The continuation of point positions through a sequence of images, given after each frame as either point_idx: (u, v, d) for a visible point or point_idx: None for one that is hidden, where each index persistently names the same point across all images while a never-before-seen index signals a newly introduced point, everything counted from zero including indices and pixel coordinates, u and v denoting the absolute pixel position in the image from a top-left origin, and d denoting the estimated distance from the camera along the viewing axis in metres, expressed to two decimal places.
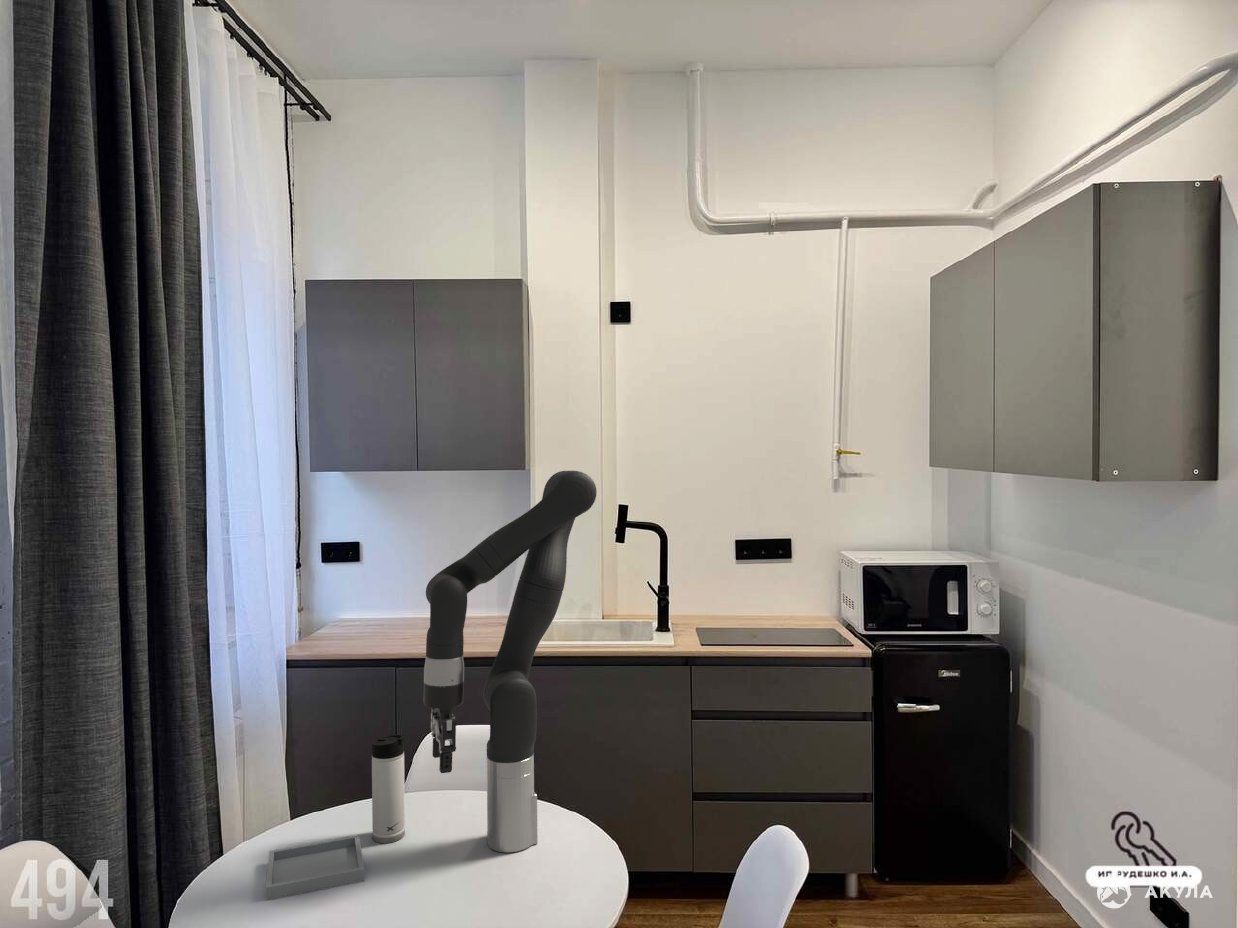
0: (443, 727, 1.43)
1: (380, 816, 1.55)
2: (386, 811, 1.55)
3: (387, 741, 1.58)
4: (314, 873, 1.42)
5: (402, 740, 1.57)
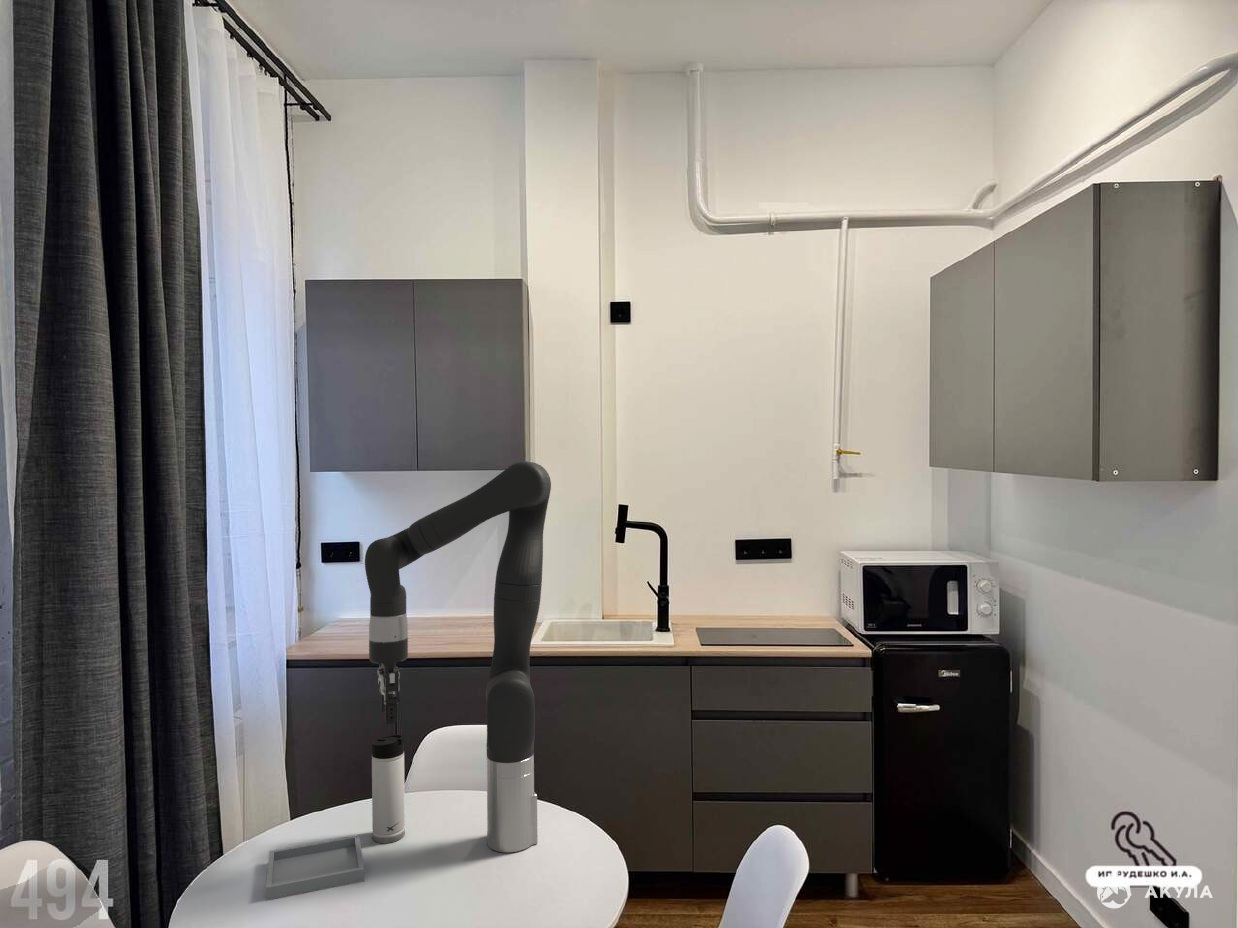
0: (386, 680, 1.51)
1: (380, 816, 1.55)
2: (386, 811, 1.55)
3: (387, 741, 1.58)
4: (314, 873, 1.42)
5: (402, 740, 1.57)
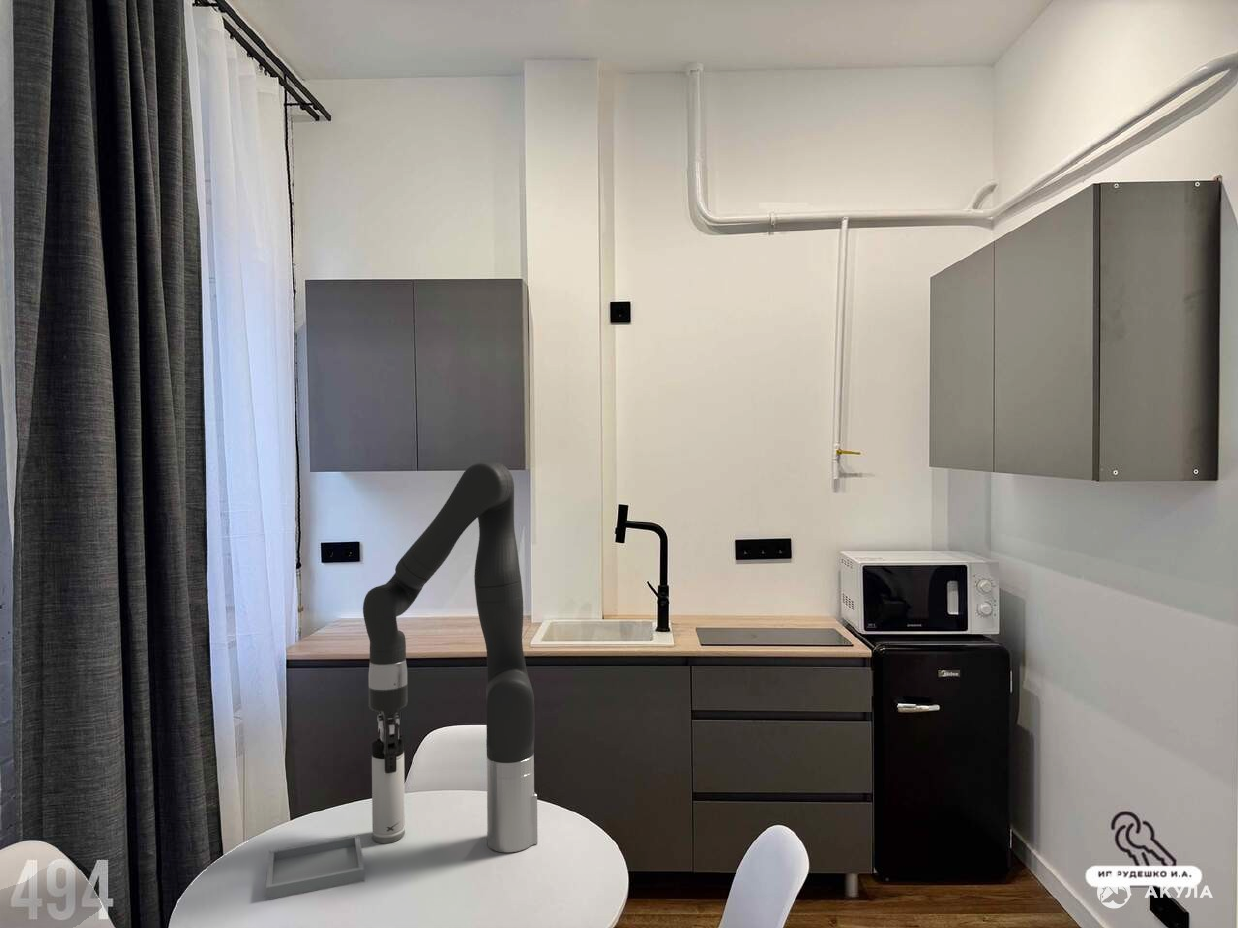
0: (386, 732, 1.51)
1: (380, 816, 1.55)
2: (386, 811, 1.54)
3: None
4: (314, 873, 1.42)
5: (402, 740, 1.57)
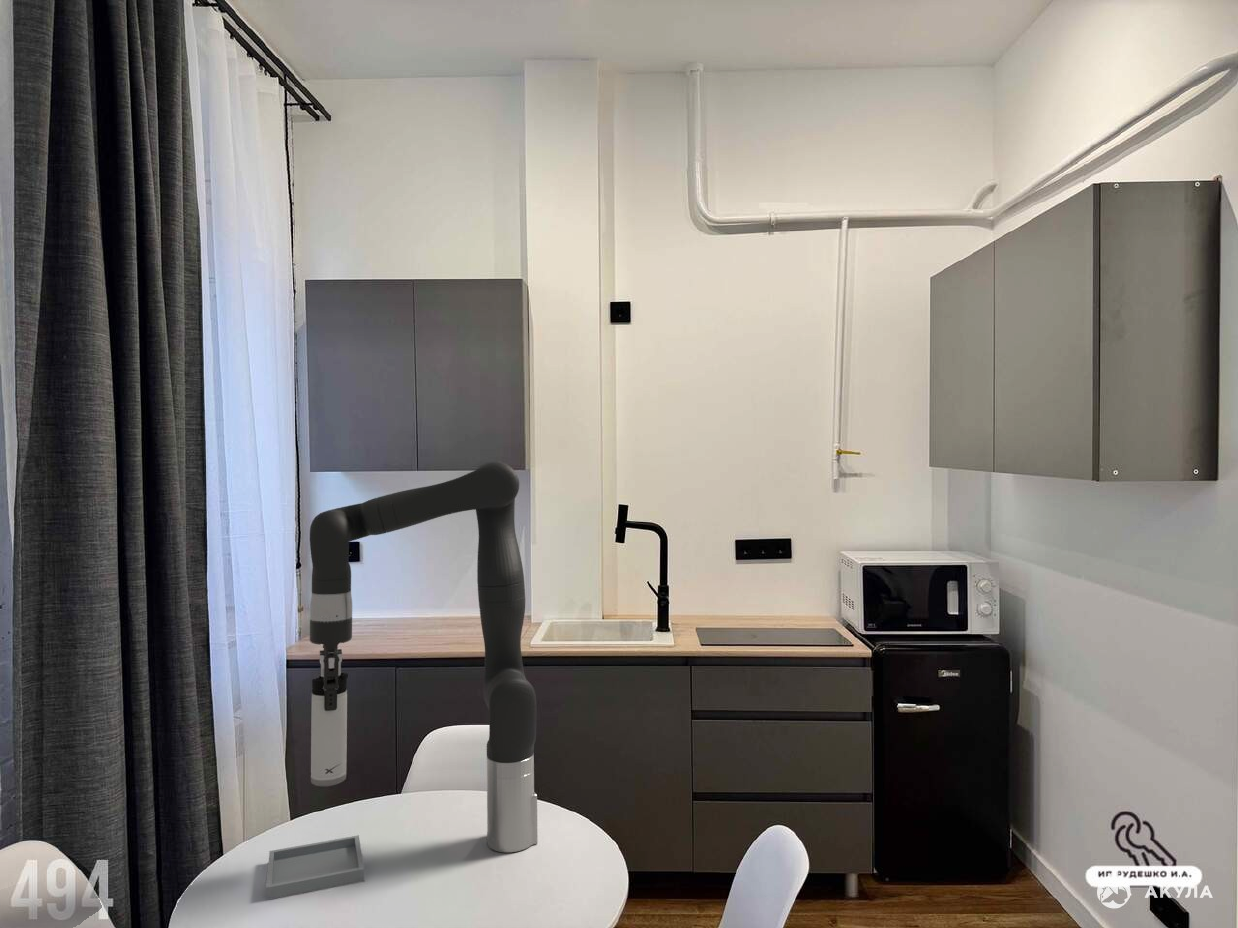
0: (325, 665, 1.41)
1: (318, 757, 1.44)
2: (325, 752, 1.44)
3: (329, 678, 1.47)
4: (314, 873, 1.42)
5: (344, 677, 1.46)
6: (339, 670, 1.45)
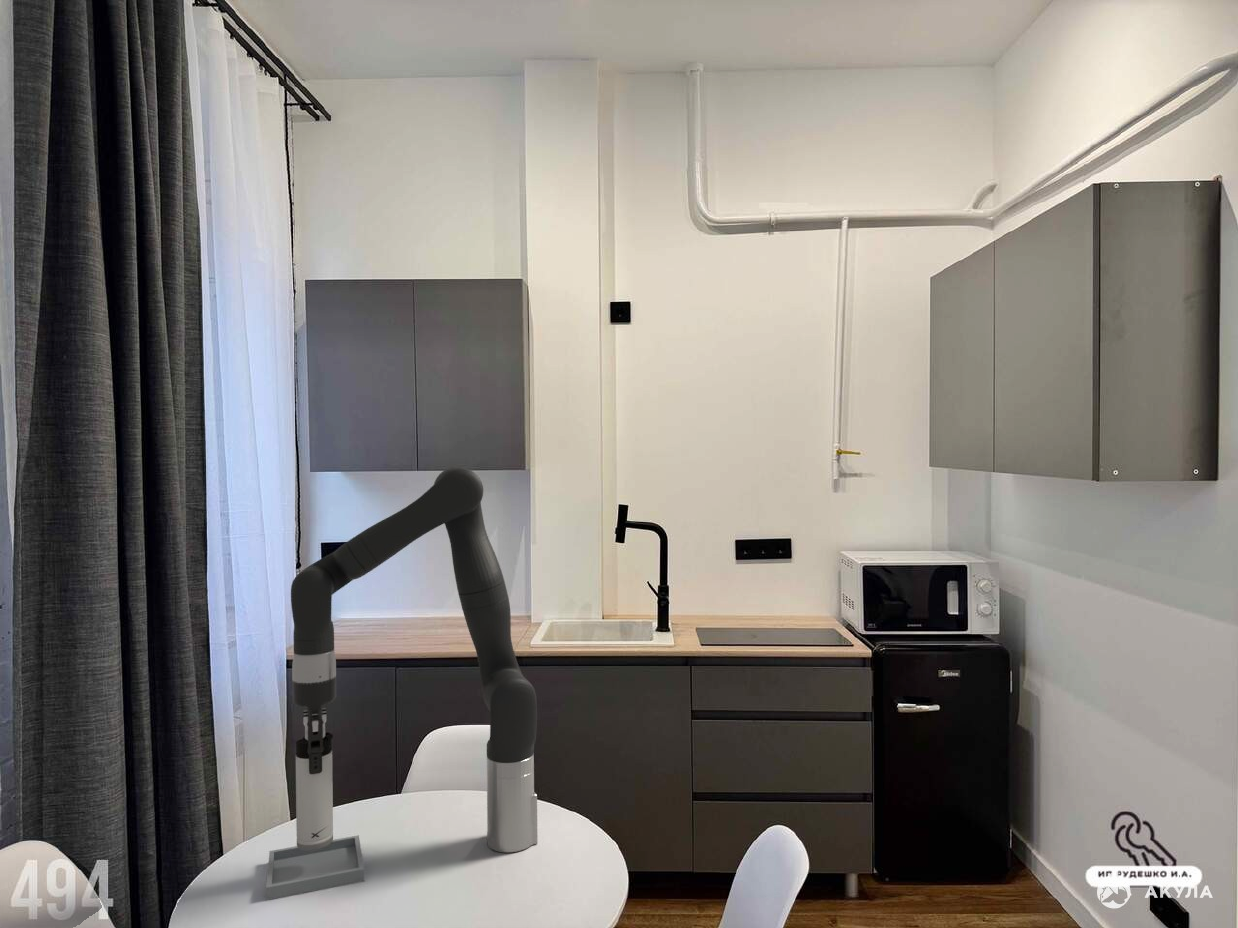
0: (309, 729, 1.38)
1: (304, 821, 1.41)
2: (310, 816, 1.41)
3: None
4: (314, 873, 1.42)
5: (329, 738, 1.43)
6: (323, 732, 1.42)
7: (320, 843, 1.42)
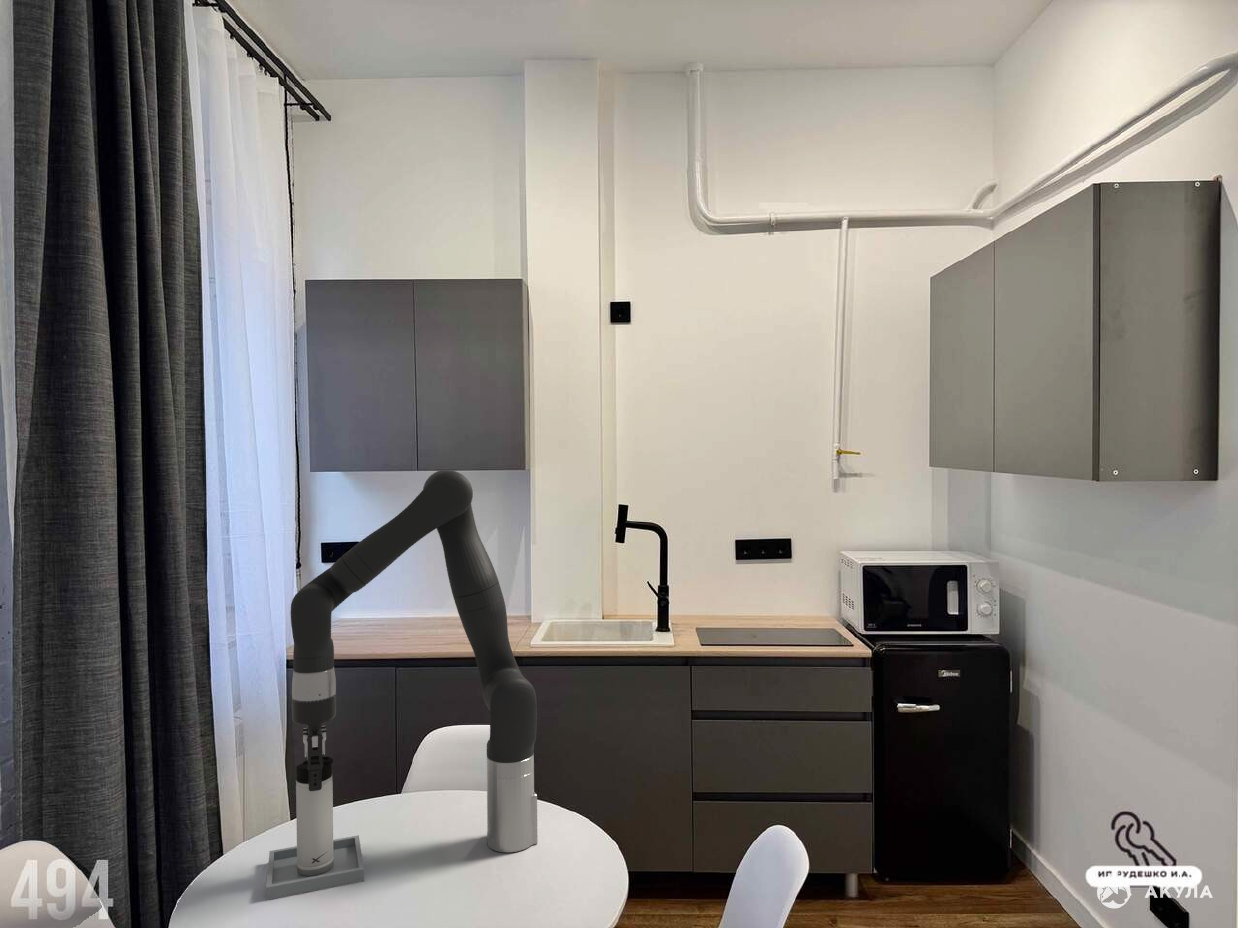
0: (308, 744, 1.37)
1: (304, 846, 1.41)
2: (311, 841, 1.41)
3: None
4: None
5: (329, 763, 1.43)
6: (323, 748, 1.41)
7: (321, 868, 1.42)
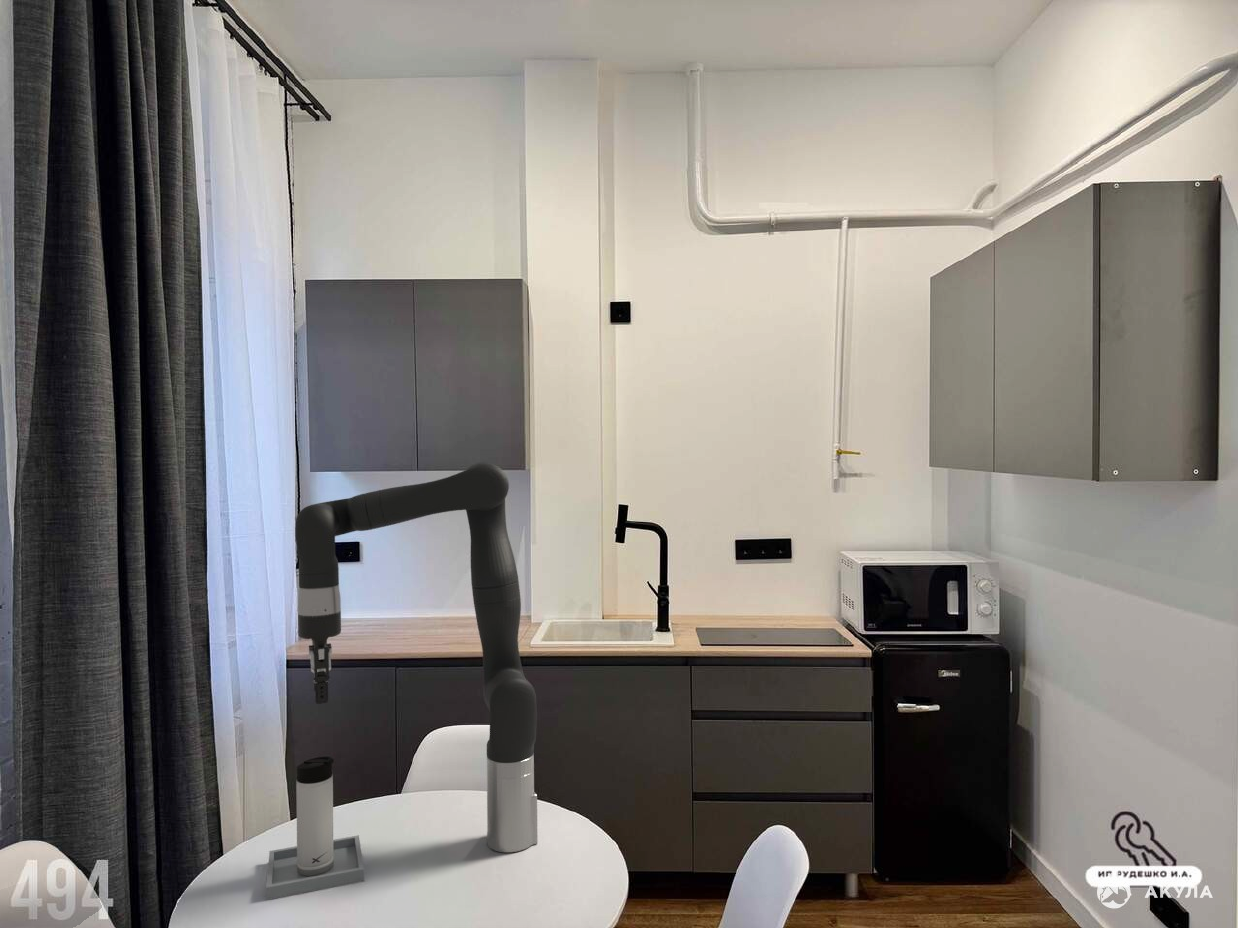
0: (315, 656, 1.40)
1: (304, 846, 1.41)
2: (311, 841, 1.41)
3: (313, 764, 1.44)
4: None
5: (330, 763, 1.43)
6: (329, 663, 1.44)
7: (321, 868, 1.42)
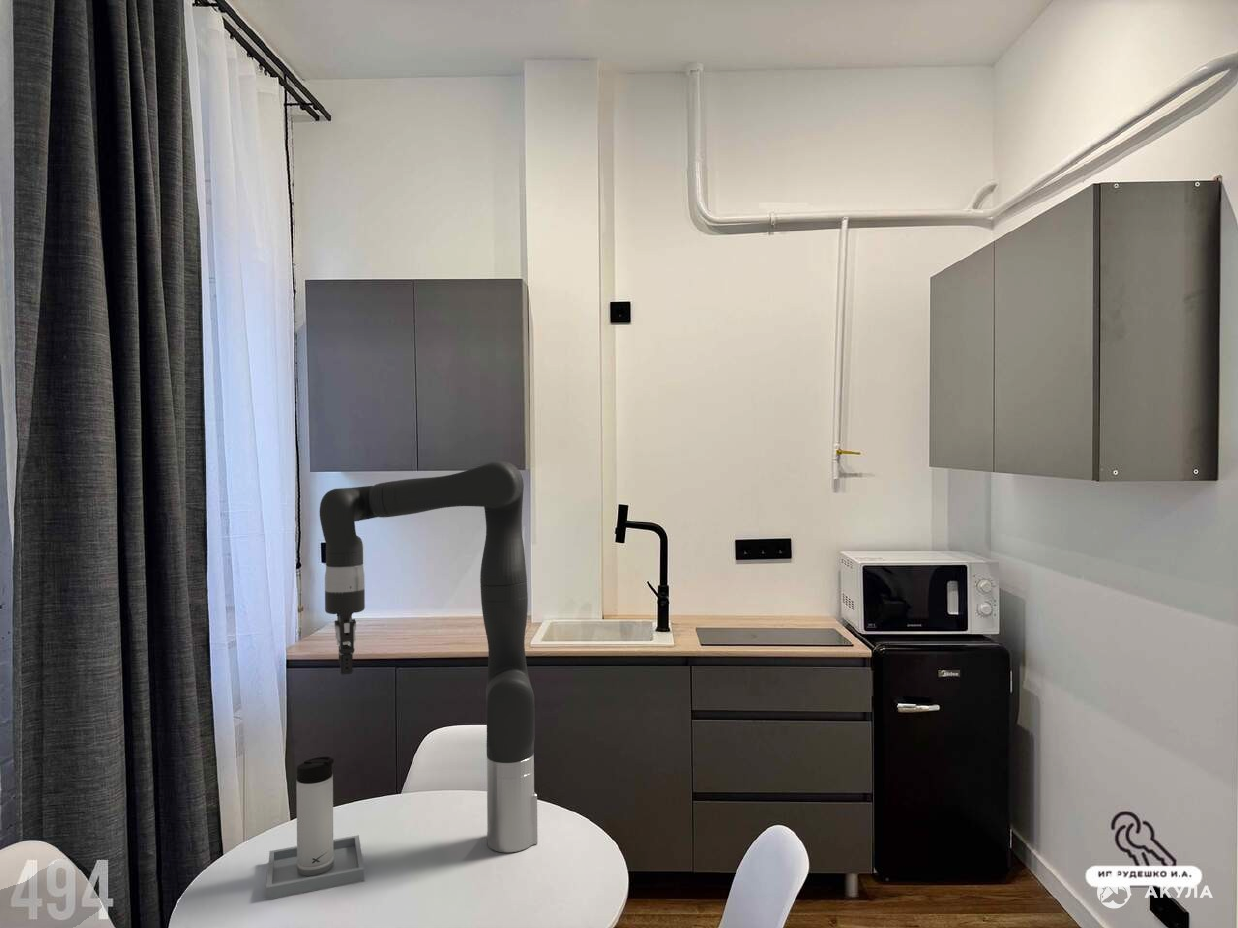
0: (341, 629, 1.50)
1: (304, 846, 1.41)
2: (311, 841, 1.41)
3: (314, 764, 1.44)
4: None
5: (330, 763, 1.43)
6: (354, 636, 1.54)
7: (321, 868, 1.42)
